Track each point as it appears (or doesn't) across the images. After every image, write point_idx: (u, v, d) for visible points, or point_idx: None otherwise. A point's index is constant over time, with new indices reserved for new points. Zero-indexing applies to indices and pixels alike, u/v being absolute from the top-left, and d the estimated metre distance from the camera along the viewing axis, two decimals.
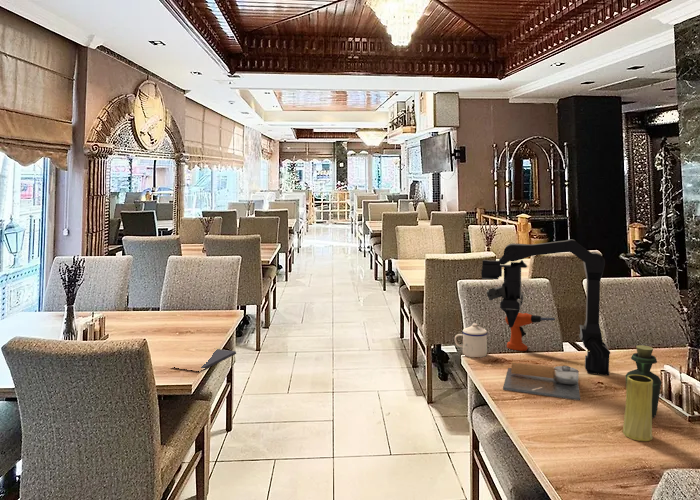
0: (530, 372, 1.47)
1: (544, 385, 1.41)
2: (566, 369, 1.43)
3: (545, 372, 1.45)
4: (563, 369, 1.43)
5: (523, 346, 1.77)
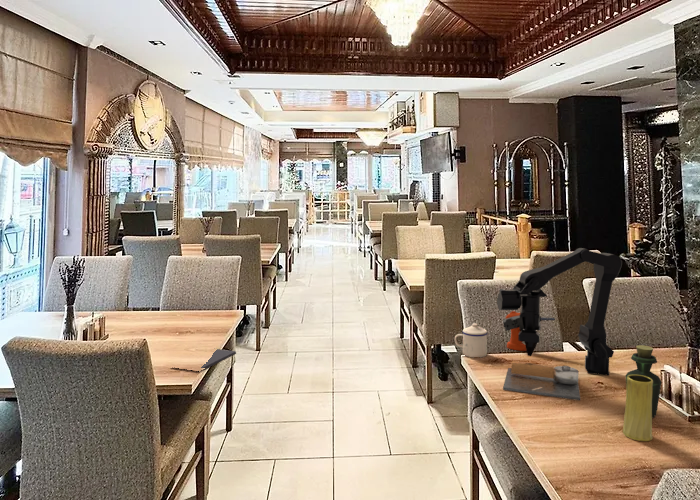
0: (530, 372, 1.47)
1: (544, 385, 1.41)
2: (566, 369, 1.43)
3: (545, 372, 1.45)
4: (563, 369, 1.43)
5: (523, 346, 1.77)
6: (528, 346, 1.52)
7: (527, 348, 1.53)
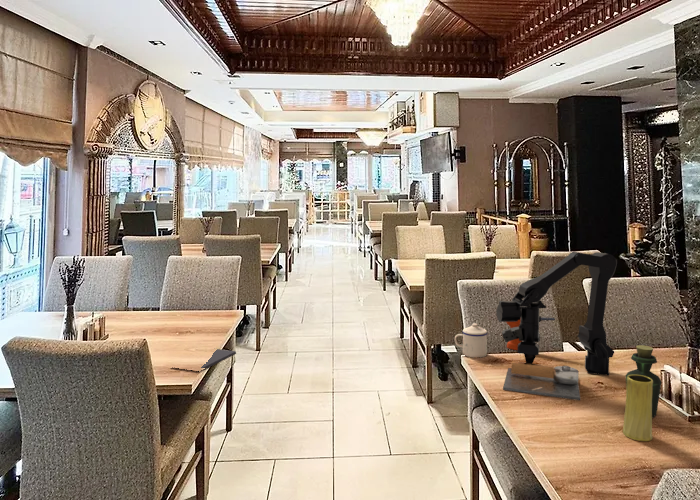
0: (530, 372, 1.47)
1: (544, 385, 1.41)
2: (566, 369, 1.43)
3: (545, 372, 1.45)
4: (563, 369, 1.43)
5: None
6: (527, 357, 1.52)
7: (526, 359, 1.52)
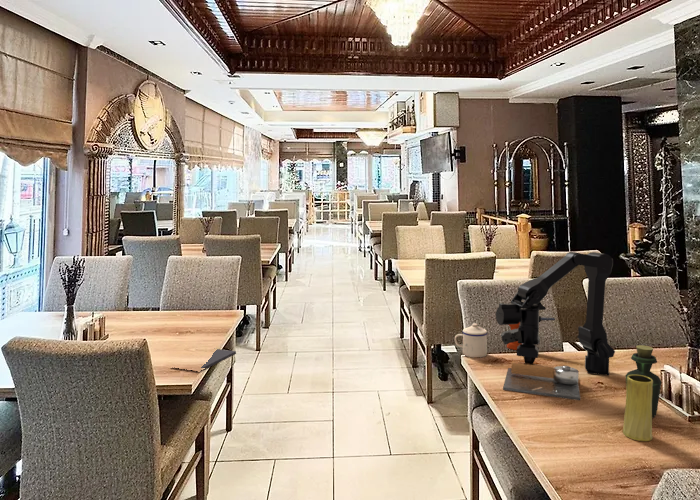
0: (530, 372, 1.47)
1: (544, 385, 1.41)
2: (566, 369, 1.43)
3: (545, 372, 1.45)
4: (563, 369, 1.43)
5: None
6: (527, 360, 1.49)
7: (526, 362, 1.50)
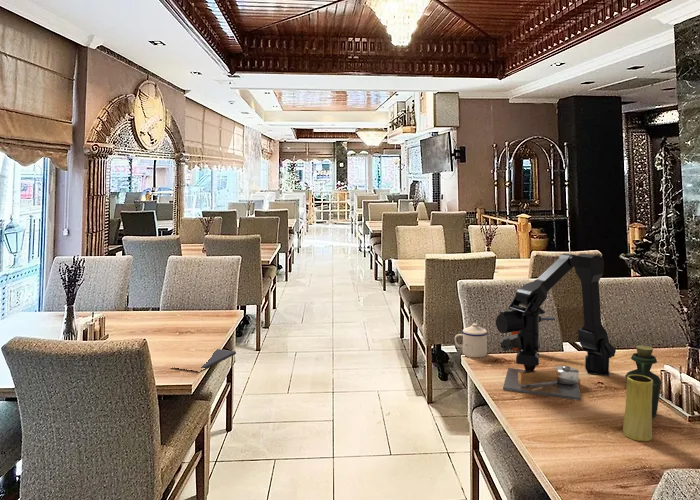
0: (537, 379, 1.41)
1: (544, 385, 1.41)
2: (568, 369, 1.43)
3: (550, 376, 1.42)
4: (565, 370, 1.43)
5: None
6: (527, 367, 1.43)
7: (526, 369, 1.44)
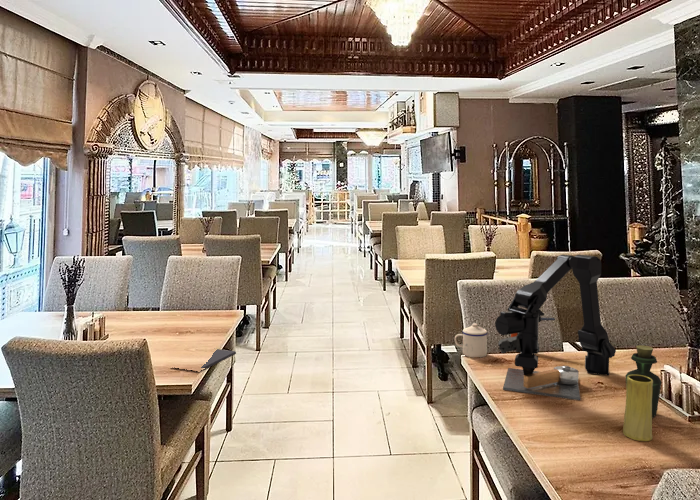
0: (542, 381, 1.39)
1: (544, 385, 1.41)
2: (569, 369, 1.43)
3: (553, 377, 1.41)
4: (566, 370, 1.43)
5: None
6: (526, 370, 1.41)
7: (524, 372, 1.41)
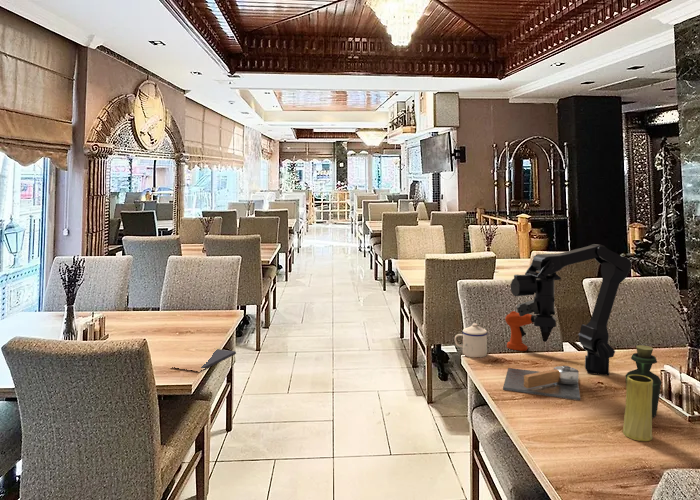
0: (542, 381, 1.39)
1: (544, 385, 1.41)
2: (569, 369, 1.43)
3: (553, 377, 1.41)
4: (566, 370, 1.43)
5: (523, 346, 1.77)
6: (543, 331, 1.49)
7: (542, 333, 1.49)
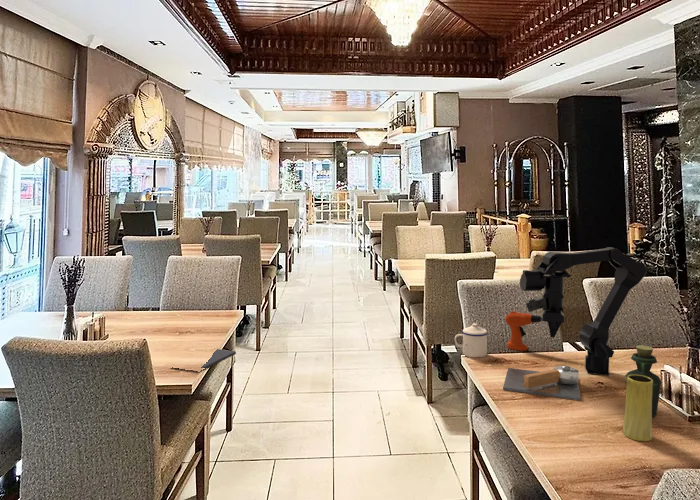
0: (542, 381, 1.39)
1: (544, 385, 1.41)
2: (569, 369, 1.43)
3: (553, 377, 1.41)
4: (566, 370, 1.43)
5: (523, 346, 1.77)
6: (551, 327, 1.51)
7: (550, 329, 1.52)
